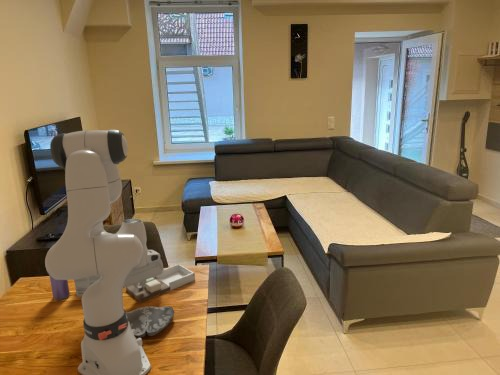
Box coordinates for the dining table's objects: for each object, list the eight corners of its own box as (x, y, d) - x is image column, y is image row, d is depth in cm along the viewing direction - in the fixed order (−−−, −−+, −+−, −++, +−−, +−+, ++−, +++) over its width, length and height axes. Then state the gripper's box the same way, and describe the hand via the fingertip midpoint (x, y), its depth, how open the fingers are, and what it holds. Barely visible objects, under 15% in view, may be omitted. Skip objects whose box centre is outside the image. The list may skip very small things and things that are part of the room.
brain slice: (115, 348, 119) (114, 340, 119) (118, 318, 135) (117, 311, 134) (177, 336, 124) (176, 328, 124) (173, 309, 140) (172, 301, 140)
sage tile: (154, 283, 155) (154, 278, 155) (144, 287, 152) (144, 282, 152) (149, 280, 159) (149, 275, 158) (139, 283, 156) (139, 278, 155)
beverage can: (65, 300, 148) (59, 265, 144) (50, 300, 148) (44, 266, 144) (72, 292, 153) (67, 259, 150) (58, 293, 154) (52, 259, 150)
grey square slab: (170, 290, 153) (170, 286, 153) (140, 302, 145) (140, 298, 144) (155, 279, 162) (154, 276, 162) (126, 290, 154) (126, 286, 154)
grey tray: (194, 280, 161) (194, 272, 160) (170, 290, 153) (169, 282, 152) (179, 270, 170) (178, 263, 169) (155, 279, 162) (154, 272, 161)
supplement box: (126, 278, 164) (124, 259, 162) (119, 294, 152) (116, 273, 149) (87, 281, 163) (84, 261, 161) (76, 297, 150) (72, 275, 148)
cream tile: (161, 288, 151) (160, 283, 151) (151, 292, 148) (150, 287, 148) (156, 284, 155) (155, 279, 154) (146, 288, 152) (145, 283, 151)
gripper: (113, 270, 135) (118, 304, 139) (163, 253, 148) (166, 284, 152) (106, 264, 140) (111, 298, 143) (156, 248, 153) (159, 279, 156)
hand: (140, 291), depth 148 cm, fingers closed
